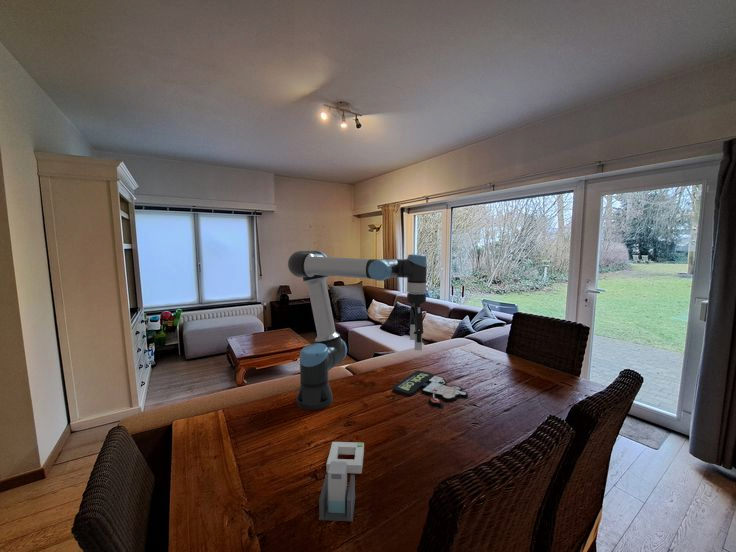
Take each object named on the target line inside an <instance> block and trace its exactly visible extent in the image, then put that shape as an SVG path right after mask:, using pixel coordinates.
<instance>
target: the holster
mask: <svg viewBox="0 0 736 552" xmlns="http://www.w3.org/2000/svg"><path fill="white" fill-rule="evenodd" d="M355 476H356V475H355V474H350V477H349V485H348V490H347V504H346V510H345V513H329V512H328V473H326V474H325V477H324V480H323V483H322V487H321V491H320V495H319V497H318V498H319V499H318V504H319V505H318V507H319V508H318V511H319V516H318V521H335V522H337V521H340V522H341V521H342V522H343V521H344V522H353V519H354V512H355V504H356V502H355V501H356V497H357V495H356V494H357V493H355V492H356V491H355V490H356V487H355V485H356V483H355V482H356V480H355V479H356V477H355Z"/></svg>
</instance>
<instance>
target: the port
mask: <svg viewBox="0 0 736 552" xmlns="http://www.w3.org/2000/svg"><path fill="white" fill-rule="evenodd" d="M364 453H365V442H363V441H362V442H353V441H352V442H351V441H350V442H348V441H347V442H346V441H332V442H331V446H330V450H329V454H328V458H327V460H326V473H328V471H329V467H330V463H331V461H337V462H347V474H362V473H363V465H364ZM339 455H347V456H348V455H353V456H354V459H345V458H339Z"/></svg>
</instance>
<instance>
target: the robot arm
mask: <svg viewBox="0 0 736 552" xmlns="http://www.w3.org/2000/svg"><path fill="white" fill-rule="evenodd" d="M427 262H428V261H427V255H425V254H408V255H407V257H406V258H404V259H403V258H402V259H401V258H399V259H398V258H382V259H376V258H374V259H373V258H372V259H371V258H357V257H355V258H354V257H352V258H351V257H335V256H334V257H332V256H331V257H330V256H327V255H326V253H324V252H322V251H318V250H297V251H295V252H293V253H291V255H290V256H289V258H288V261H287V267H288V270H289V272H290V274H292V275H293V276H295V277H298V278H302V281H303V283H304V284H306V286H307V288H308V295H309V298H310V299H309V300H310V305H311V311H312V315H313V320H314V325H315V330H316V335H317V336H316V337H315V339H314V342H315V343H314V342H313V343H312V344H307V345H305V346H304V347H303V348H302V349H301V350H300V352H299V375H300V376H299V377H300V380H299V381H300V385H299V389H298V392H297V395H296V406H297V407H298V408H299V409H302V410H305V411H319V410H322V409H325V408H327V407H328V406H330V405H332V403H333V401H334V400H333V399H334V398H333V397H334V396H333V392H332V389H331V386H330V383H329V371H330V370H332V369H333V368H334V367H336V366H337V365H340V363H342V362H343V361H344V359H346V356H347V353H348V347H347V344H346V342H345V341H344V340H343V339H342V338H341V334H340V333H339V332H338V331H336V326H335V322H334V321H335V320H334V315H333V311H332V306H331V305H332V304H331V300H330V295H329V291H328V285H327V280H328V279H329V277H340V278H354V279H366V280H367V279H369V280H374V281H378V282H379V281H380V282H381V281H385V280H388V279H393V278H406V280H407V282H406V292H407V294H406V302H407V303H408V304H410V315H409V324H410V325H409V326H410V327H409V329H410V330H409V340H410V341H414V351H422V350H423V334H424V321H423V307H421V305H424V304H426V302H427V294H426V292H427V288H428V284H427V268H428V265H427Z"/></svg>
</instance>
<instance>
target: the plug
mask: <svg viewBox="0 0 736 552" xmlns="http://www.w3.org/2000/svg"><path fill="white" fill-rule="evenodd" d="M327 474H328V512H329V513H345V510H346V504H347V493H348V473H347V462H337V461H331V463H330V467H329V471H328V472H327Z"/></svg>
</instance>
